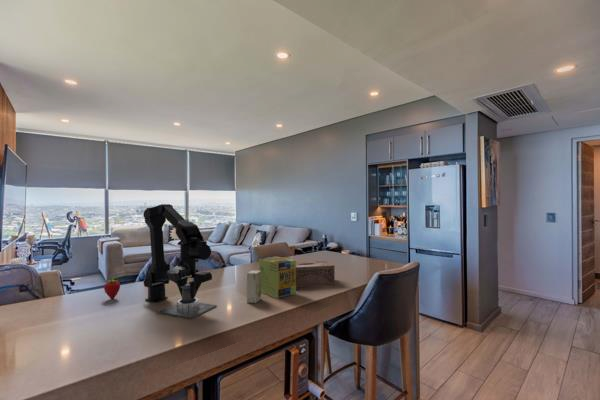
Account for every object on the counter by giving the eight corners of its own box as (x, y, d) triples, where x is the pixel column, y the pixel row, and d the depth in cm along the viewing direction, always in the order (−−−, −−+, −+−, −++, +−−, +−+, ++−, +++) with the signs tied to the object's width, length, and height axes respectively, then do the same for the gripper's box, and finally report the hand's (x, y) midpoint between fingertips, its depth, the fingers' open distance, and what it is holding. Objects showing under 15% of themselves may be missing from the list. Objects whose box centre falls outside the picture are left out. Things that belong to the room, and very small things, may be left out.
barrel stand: (157, 313, 110) (157, 303, 110) (185, 301, 123) (185, 293, 123) (191, 319, 104) (191, 308, 104) (216, 306, 117) (216, 297, 117)
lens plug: (177, 307, 112) (177, 285, 112) (187, 302, 117) (187, 282, 117) (188, 308, 110) (188, 287, 110) (197, 304, 115) (198, 283, 115)
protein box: (278, 299, 126) (278, 263, 127) (258, 291, 138) (258, 258, 138) (296, 294, 133) (296, 260, 134) (276, 287, 145) (276, 255, 145)
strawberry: (103, 303, 122) (103, 278, 122) (104, 298, 128) (104, 275, 128) (120, 300, 125) (120, 277, 125) (120, 296, 131) (120, 273, 131)
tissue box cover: (284, 288, 144) (284, 268, 144) (279, 281, 158) (279, 262, 158) (334, 285, 150) (334, 265, 150) (325, 278, 164) (325, 260, 164)
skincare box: (256, 303, 121) (256, 273, 121) (246, 302, 121) (246, 273, 122) (261, 298, 127) (261, 270, 127) (251, 298, 128) (251, 269, 128)
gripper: (153, 259, 110) (152, 301, 109) (192, 262, 103) (192, 307, 102) (175, 254, 120) (175, 293, 120) (213, 257, 113) (212, 298, 113)
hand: (187, 297), depth 113 cm, fingers closed on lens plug, 4 cm apart
